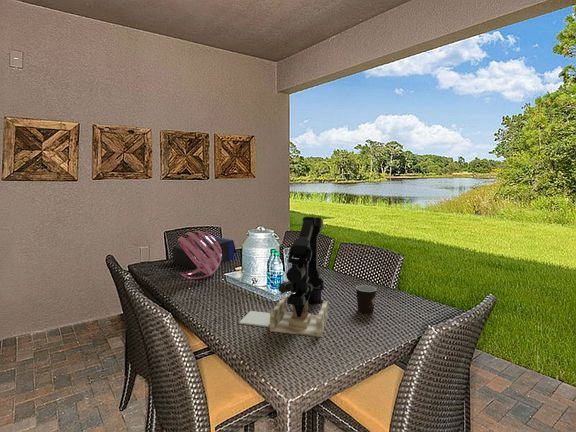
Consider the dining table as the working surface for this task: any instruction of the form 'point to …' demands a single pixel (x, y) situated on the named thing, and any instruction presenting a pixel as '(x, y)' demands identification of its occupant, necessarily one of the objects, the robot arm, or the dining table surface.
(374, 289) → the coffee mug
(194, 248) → the spiral basket
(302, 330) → the slot box
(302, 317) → the walnut block
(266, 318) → the grey mat
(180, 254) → the headphone box
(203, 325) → the dining table surface
